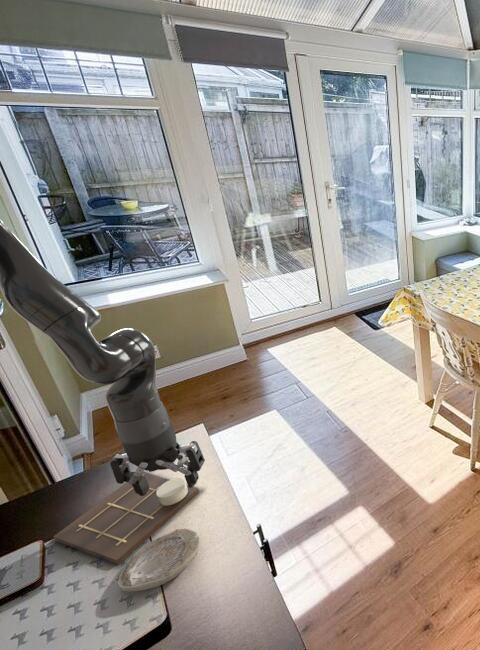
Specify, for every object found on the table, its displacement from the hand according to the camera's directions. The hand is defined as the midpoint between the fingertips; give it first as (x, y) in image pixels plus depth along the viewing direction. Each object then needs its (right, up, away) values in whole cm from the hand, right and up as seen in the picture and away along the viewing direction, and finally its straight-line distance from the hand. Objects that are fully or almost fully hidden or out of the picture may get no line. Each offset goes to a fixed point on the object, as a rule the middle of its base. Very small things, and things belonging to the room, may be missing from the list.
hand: (169, 488), depth 86 cm
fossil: (+8, -9, -11) cm, 16 cm away
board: (-6, -5, -2) cm, 8 cm away
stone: (0, -2, +1) cm, 2 cm away
